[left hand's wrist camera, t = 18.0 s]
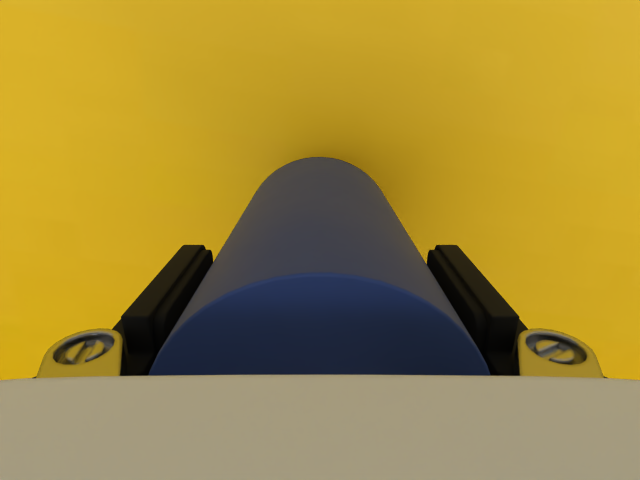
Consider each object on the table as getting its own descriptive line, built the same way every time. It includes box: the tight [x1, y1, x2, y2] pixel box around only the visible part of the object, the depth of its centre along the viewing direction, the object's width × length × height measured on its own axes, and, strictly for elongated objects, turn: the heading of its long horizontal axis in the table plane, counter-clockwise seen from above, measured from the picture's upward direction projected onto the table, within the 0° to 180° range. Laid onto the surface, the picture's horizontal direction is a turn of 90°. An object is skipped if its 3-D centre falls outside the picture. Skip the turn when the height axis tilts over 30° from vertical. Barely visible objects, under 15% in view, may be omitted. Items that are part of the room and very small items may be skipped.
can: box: [148, 157, 491, 376], centre depth 12 cm, size 6×6×11 cm
